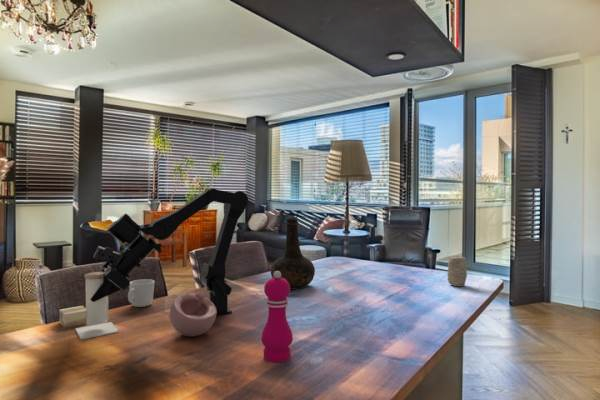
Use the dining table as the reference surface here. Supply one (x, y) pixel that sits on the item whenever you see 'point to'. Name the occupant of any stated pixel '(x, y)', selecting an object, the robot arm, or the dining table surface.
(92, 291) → the tumbler
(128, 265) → the robot arm
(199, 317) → the mortar and pestle
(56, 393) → the dining table surface
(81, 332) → the mat
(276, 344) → the pepper mill
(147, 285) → the cup
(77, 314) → the oak block
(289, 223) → the dark brown vase
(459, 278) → the carving
